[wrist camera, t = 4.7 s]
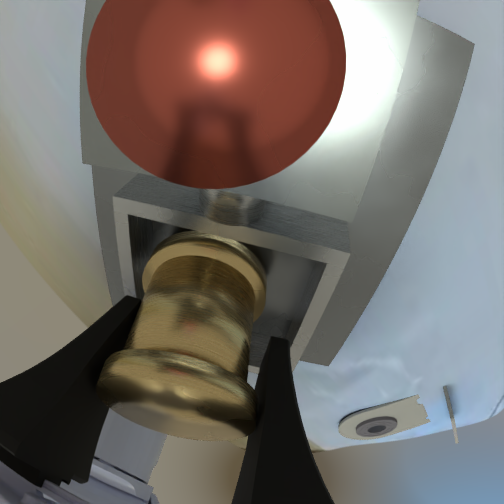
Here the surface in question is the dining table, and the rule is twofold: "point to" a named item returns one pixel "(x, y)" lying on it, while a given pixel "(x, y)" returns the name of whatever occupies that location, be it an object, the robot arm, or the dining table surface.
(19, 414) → the robot arm
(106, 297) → the dining table surface
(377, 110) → the valve base
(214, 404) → the brass spool
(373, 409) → the bracket
